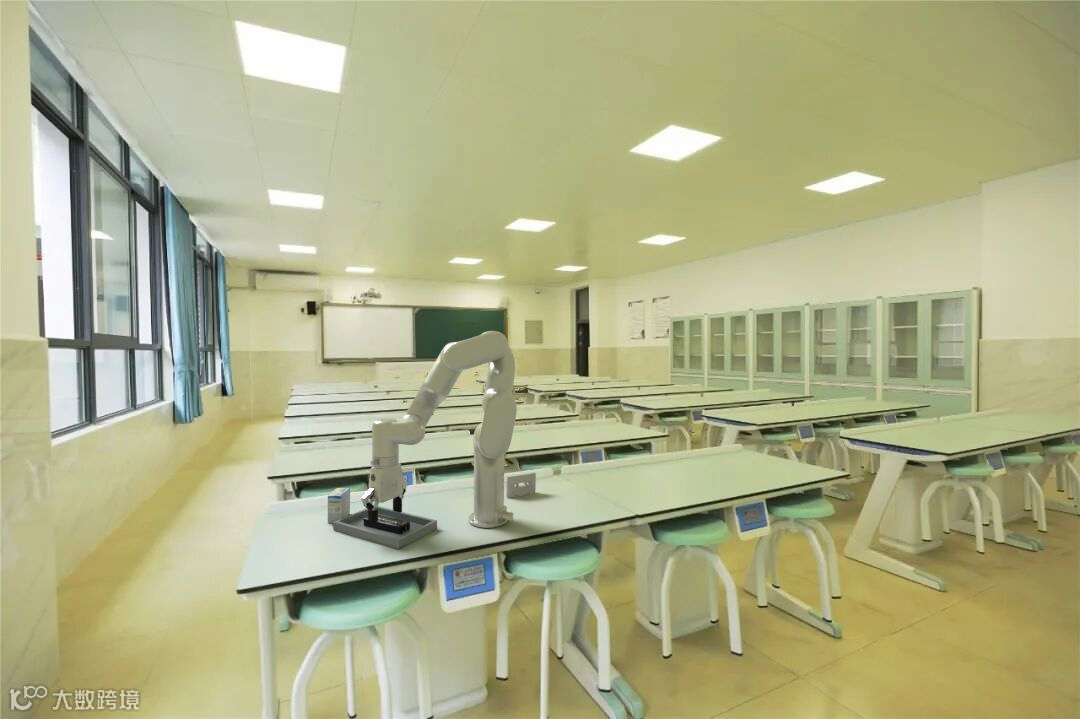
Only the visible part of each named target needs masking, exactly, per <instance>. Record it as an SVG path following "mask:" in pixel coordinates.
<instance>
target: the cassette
mask: <svg viewBox="0 0 1080 719" xmlns="http://www.w3.org/2000/svg"><path fill="white" fill-rule="evenodd" d="M536 476H537V474H536V472H528V473H523V474H514V475H509V476H508V475H507V476H506V478H505V480H506V483H505V485H506V486H505V497H506V498H507V499H509V498H518V497H521V496H522V497H523V496H527V495H532V494H535V493H536V483H537V482H536V481H537V479H536V478H537V477H536ZM521 483H523V484H521ZM520 484H521V485H520Z"/></svg>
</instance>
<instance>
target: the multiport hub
mask: <svg viewBox="0 0 1080 719" xmlns="http://www.w3.org/2000/svg"><path fill="white" fill-rule="evenodd" d="M364 526H367V527H371V528H375V529H379V530H383V531H387V532H392V533H396V534H403V533H404V532H406V531H408V530H410V522H409V521H405V520H400V519H396V518H391V517H387V516H382V515H378V523H376V524H374V523H371V522H369V521H368V516H367V517H365V518H364Z"/></svg>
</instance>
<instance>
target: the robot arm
mask: <svg viewBox="0 0 1080 719" xmlns="http://www.w3.org/2000/svg"><path fill="white" fill-rule="evenodd" d="M484 364H487V368H488V370H487V377H486V383H485V386H484V393H483V397H482V400H481V408H482V410H483V413H484V414H483V419H482V422H480V423H479V424H478V425H477V426H476V428H475V429H474V432H473V438H472V441H473V462H474V463H473V464H474V465H473V512H472V513H470V515H469V516H468V523H469V525H471V526H473V527H478V528H483V529H485V528H487V529H489V528H497V527H501V526H504V525H505V524H507V523H508V522H511V523H512V522H513V521H514V512H512V511H508V506H506V505H504V504H505V503H504V502H505V456H506V453H507V452H508V451H509V449H510V447H511V443H512V438H513V433H514V428H515V424H516V423H515V422H516V418H517V413H518V411H517V410H518V407H517V401H516V398H515V397H514V396H513V389H514V384H515V376H516V361H515V357H514V354H513V351H512V349H511V347H510V346H509V340H508V339H507V336H505V334H504V333H502V332H500V331H496V330H488V331H484V332H482V333H481V334H478V335H475V336H473V337H471V338H467V339H463V340H460V341H459V340H458V341H452V342H448V343H447V344H445V346H444V347H443V348H442V349H441V351H440V352H439V355H438V356H437V358H436V360H435V361H434V362H433V365H432V367H431V369H430V370H429V372H428V374H427V375H426V377H425V379H424V380H423V382H422V383H421V385H420V388H419V390H418V391H417V393H416V395H415V398H414V399H413V401H412V402H411V403H410V405H409V407H408V409H407V410H406V411H405V413H404V416H403V418H402V419H401V421H398V420H397V419H396V418H395V419H394V418H379V419H376V420H374V421H373V423H372V427H371V431H372V433H371V436H372V437H371V439H372V440H371V443H372V444H371V446H372V447H371V448H372V449H371V450H372V451H371V452H372V454H371V456H372V457H371V459H372V460H371V461H370V465H371V468H370V470H369V478H368V491H366V492H365V494H364V495H362V497H361V498H360V500H361V502H362V504H363V506H364V507H365V509H368V521H369V522H371V523H374V524H376V523H378V510H376V508H377V506H379V504H380V503H381V504H382V503H384V502H385V503H386V502H387V501H390V500H392V510H393V511H395V512H399V513H401V512H403V499H404V497H405V496H404V495H405V493H406V492H407V490H406V489H407V488H408V481H405V480H404V475H403V468H402V463H401V462H399V460H400V459H399V458H400V456H399V454H400V445H406V446H413V445H418V444H419V443H421V442H422V441H423V440H424V438H425V436H426V427H427V425H428V423H429V421H430V419H431V418H432V416H433V414H434V412H436V409H438V407H439V406H440V405H441V404H442V403H443V402H445V400H446V399H447V398H448V397H449V395H450V393H451V392H452V390H453V388H454V386H455V384H456V382H457V381H458V379H459V378H460V376H461V374H462V372H463V371H464V370H465V371H466V370H469V369H472V368H475V367H478V366H482V365H484Z"/></svg>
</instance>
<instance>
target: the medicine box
mask: <svg viewBox="0 0 1080 719" xmlns="http://www.w3.org/2000/svg"><path fill="white" fill-rule="evenodd" d="M349 514H350V515H351V488H349V487H336V488H335V489H334V490H332V492H330V494H329V495H328V496H327V523H328V524H333V522H334V521H337V520H339V519H342V518H344V517H347V516H349Z"/></svg>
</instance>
